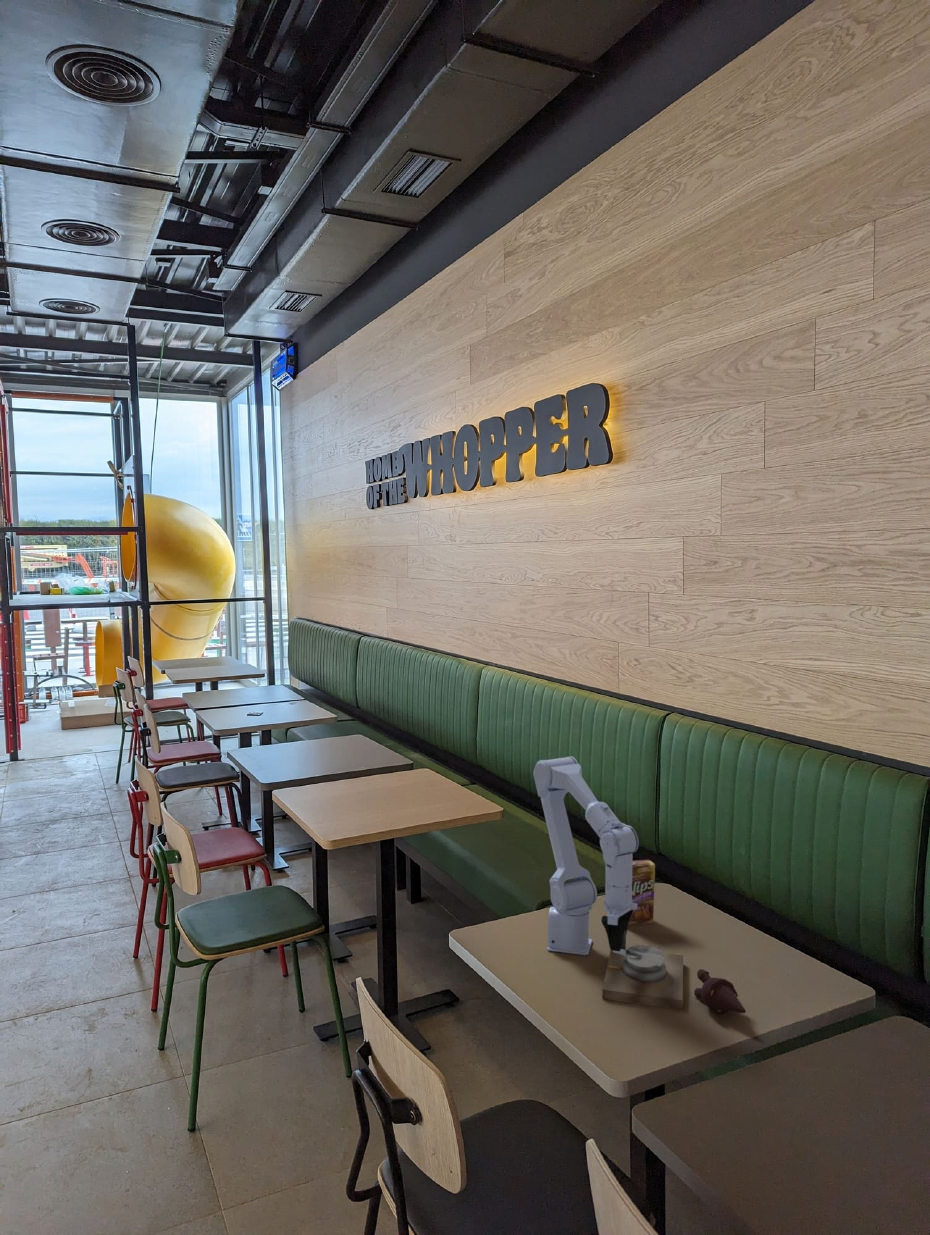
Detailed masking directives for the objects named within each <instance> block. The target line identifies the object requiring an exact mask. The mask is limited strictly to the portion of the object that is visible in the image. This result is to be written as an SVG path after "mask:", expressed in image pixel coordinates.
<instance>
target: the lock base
mask: <svg viewBox="0 0 930 1235" xmlns="http://www.w3.org/2000/svg"><path fill="white" fill-rule="evenodd" d="M663 954H664V967H663V969H662V970H660V971H658V972H653V973H645V972H639V971H636V970H633V969H631V968H630V967H628V966H627V964H626V956H625V955H622V954H619V953H615V952H613V950H611V949H610V952H609V956H608V959H607V966H606V970H605V975H604V979H603V984H602V989H601V990H602V994H601V995H602V996H601V997H602V998H601V999H602V1000H608V1001H616V1002H623V1003H630V1004H636V1003H639V1004H638V1005H645V1006H651V1007H658V1006H659V1008H667V1009H673V1010H680V1011H682V1010H683V1001H684V999H683V994H684V993H683V992H684V955H682V954H673V953H665V952H663Z"/></svg>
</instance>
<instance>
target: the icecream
mask: <svg viewBox="0 0 930 1235" xmlns="http://www.w3.org/2000/svg"><path fill="white" fill-rule="evenodd" d="M696 976H697V979H699V981H700V982H702V987H696V988H695V989H694V991H693V994H694V996H695V997H696V998H697V999H699V1000H701V1001H702V1002H703V1004H705V1005H706V1007H707V1008H708V1010H709V1011H710V1012H712V1013H714V1014H716V1015H718V1016H720V1015H722V1014H726V1013H728V1012H733V1013H739V1014H741V1013H742V1014H746V1013H747V1011H746V1009H745V1007H744V1006H743V1004H742V1002H740V1000H739V998H738V996H739V994H738V992H737V991H736V990H737V989H735V986H734V984H733V983H732V982H731V981H729V980H727V979H726V978H722V977H714V976H713V977H711V976H710V973H709V971H708V970H706V969H703V968H702V969H701V968H700V969H698V970H697V972H696Z"/></svg>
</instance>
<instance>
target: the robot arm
mask: <svg viewBox="0 0 930 1235" xmlns="http://www.w3.org/2000/svg"><path fill="white" fill-rule="evenodd" d="M532 774H533V778H534V783H535V787H536V791H537V792H536V793H537V796H538V797H540V801H541V807H542V810H543V814H544V818H545V822H546V827H547V831H548V835H549V839H550V840H549V841H550V843H551V844H550V845H551V848H552V853H553V857H554V861H555V866H556V870H555V872H554V874H553V875H552V876H551V878H550V879H549V881H548V882H549V887H550V902H551V904H552V906H550V908H549V911H548V920H547V951H550V952H555V953H556V952H557V953H567V954H571V955H573V954H574V955H582V956H589V954H590V949H591V947H592V942H593V939H592V938H589V936H590V934H589V931H590V925H589V924H590V911H591V910H592V908H593V906H592V905H594V904H595V903H596V902H597V900H598V899H597V897H598V890H597V887H596V885H595V883H594V881H593V879H592V877H591V873H590V871H589V870H588V869H586V868H584V867H583V866H581V865H580V863H579V859H578V854H577V851H576V847H575V844H574V843H575V842H574V838H573V834H572V829H571V826H570V821H569V817H568V814H567V813H568V812H567V809H566V806H565V800H564V799H565V796H566V794H568V793H570V794H571V796H572V797H573V798H574V799H575V800H576V802H577V803H578V804H580V807H582V808H583V809H584V810H585V815H584V817H585V818H584V819H585V821H587V823H588V824H589V825H590V827H591V828H592V829H593V831H594V832H595V833H596V835H597V836H598V837H599V845H600V849H601V851H602V859H603V862H604V863H605V871H604V872H605V875H604V876H605V878H604V879H605V880H604V882H605V886H604V887H605V888H604V889H605V890H604V891H605V892H604V898H605V899H604V901H603V905H604V908H605V911H606V914H607V915H603V916H602V917H601V924H602V926H603V927H604V929H605V932H606V935H607V941H608V946H609V949H610V950H613V951H620V950H621V947H622V942H623V936H624V931H625V930H626V935H627V934H628V928H629V925H628V924H629V920H630V916H631V914H632V912H633V911H634V910H636V909H637V904H636V903H632V861H633V853H636V852H637V850H638V848H639V846H640V845H639V844H640V842H639V837H638V834H637V832H636V830H635V828H634V827H632V826H631V825H627V824H626V823H623V822H621V821H620V819H619V818H618V817H617V815H616V814H615V813H614V812H613V811H612V809H611V808H610V807H609V805H608V804H607V803H606V802H604V801H598V798H596V796H595V795H594V793H593V791H592V790H591V788H590V787H589V785H588V784H587V782H586V781H585V779H584V777H583V776H582V775H583V770H582V765H581V764H579V762H578V760H577V759H576V758H575V757H574V756H571V755H570V756H565V757H560V758H552V759H551V758H550V759H540V760H538V761H537V762H536V764H535V767H534V770H533V773H532ZM573 879H575V880H573ZM567 880H570V881H567ZM571 880H572V881H571Z"/></svg>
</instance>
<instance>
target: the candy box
mask: <svg viewBox="0 0 930 1235" xmlns="http://www.w3.org/2000/svg"><path fill="white" fill-rule="evenodd" d="M655 879H656V865H655V863H654V862H653V861H651V860H650V859H639V860H636V859H635V860H632V903H636V904H637V909H636V910H634V911H633V912H632V914H631V916H630V920H629V924H628V926H631V925H642V924H643V925H644V924H654V912H655V910H654V907H655V882H656V880H655Z"/></svg>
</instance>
